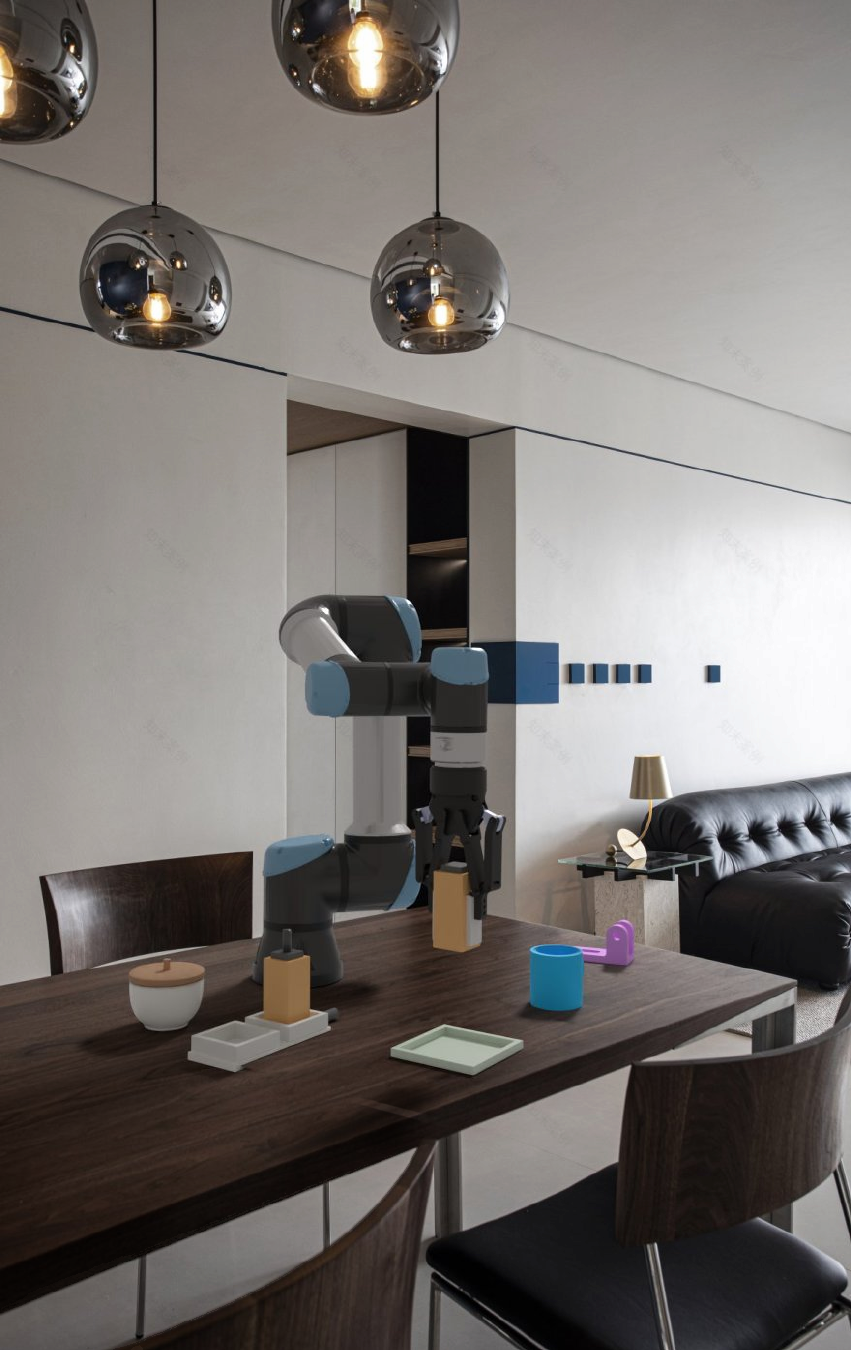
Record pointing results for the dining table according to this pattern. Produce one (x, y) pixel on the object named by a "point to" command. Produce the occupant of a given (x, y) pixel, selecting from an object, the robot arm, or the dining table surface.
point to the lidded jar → (166, 993)
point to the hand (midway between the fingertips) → (456, 940)
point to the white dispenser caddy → (267, 1016)
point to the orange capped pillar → (451, 907)
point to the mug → (556, 977)
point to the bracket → (614, 946)
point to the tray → (457, 1049)
